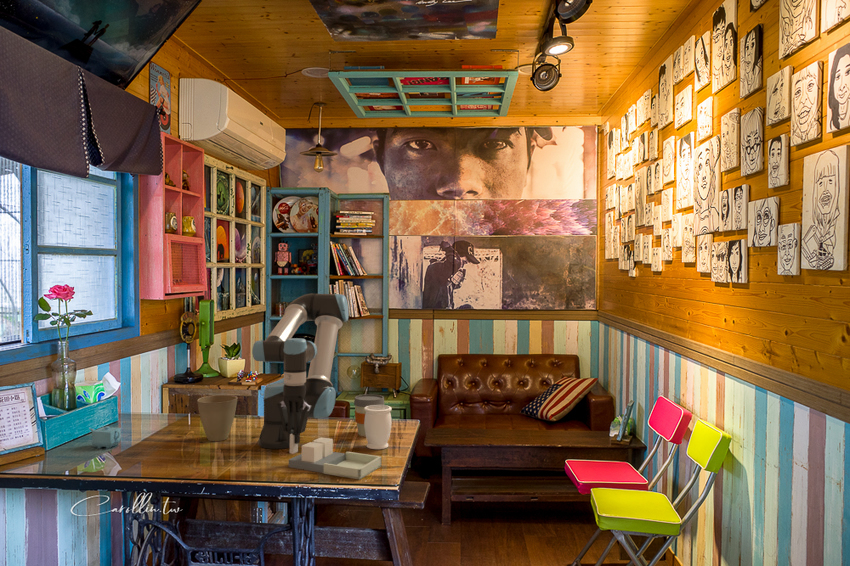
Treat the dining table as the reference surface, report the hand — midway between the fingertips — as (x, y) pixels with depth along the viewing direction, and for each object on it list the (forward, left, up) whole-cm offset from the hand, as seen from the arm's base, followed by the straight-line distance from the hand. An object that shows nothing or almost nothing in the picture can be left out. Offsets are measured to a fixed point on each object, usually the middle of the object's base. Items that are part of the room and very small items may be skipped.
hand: (293, 452), depth 194 cm
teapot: (-76, -13, -4) cm, 77 cm away
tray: (+21, +4, -4) cm, 22 cm away
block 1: (+7, 0, -2) cm, 7 cm away
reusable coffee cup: (+4, +46, -4) cm, 46 cm away
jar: (+16, +31, -4) cm, 35 cm away
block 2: (+7, +7, -2) cm, 10 cm away
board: (+7, +4, -4) cm, 9 cm away
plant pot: (-46, +13, -4) cm, 48 cm away
